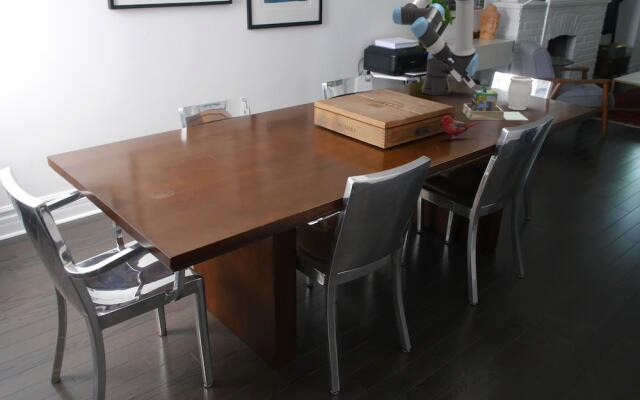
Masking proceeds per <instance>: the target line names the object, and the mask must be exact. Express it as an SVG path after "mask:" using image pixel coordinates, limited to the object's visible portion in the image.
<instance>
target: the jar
mask: <svg viewBox="0 0 640 400" xmlns="http://www.w3.org/2000/svg"><path fill="white" fill-rule="evenodd" d="M509 78H510V82H509V85H508V90H507V95H508V96H507V97H508V98H507V99H508V101H507V102H508V104H509V105H508V106H507V108H508V109H510V110H514V111H525V110H527V104H528V103H529V101H530V98H531V95H532V92H533V91H532V90H533V82H534V78H533V77H529V76H525V75H512V76H510V77H509Z"/></svg>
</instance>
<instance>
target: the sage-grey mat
mask: <svg viewBox="0 0 640 400" xmlns="http://www.w3.org/2000/svg"><path fill="white" fill-rule="evenodd" d="M503 120H505V121H520V122H521V121H522V122H523V121H526V122H528V121H529V119H528V118H527V117H526V116H524V115H523V114H522V113H521V112H520V111H504V116H503Z"/></svg>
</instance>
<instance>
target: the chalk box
mask: <svg viewBox="0 0 640 400" xmlns="http://www.w3.org/2000/svg"><path fill="white" fill-rule="evenodd" d="M481 86H482V89H473V90H472V97H471V98H472V99H471V104H472V106H471V110H472V111H496V105H497V102H498V93H497V92H496V91H494V90H492V89H487V86H486V84H484V83H482V85H481Z"/></svg>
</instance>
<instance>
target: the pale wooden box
mask: <svg viewBox="0 0 640 400" xmlns="http://www.w3.org/2000/svg"><path fill="white" fill-rule="evenodd" d="M471 106H472V103H463V106H462V113H463V114H464V115H465V116H466V117H467V118H468V120H469V121H503V120H504V118H503V116H504V112H505V111H504V110H502V109H501V107H500V106H498V105H497V104H496V111H472V110H471Z"/></svg>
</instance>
